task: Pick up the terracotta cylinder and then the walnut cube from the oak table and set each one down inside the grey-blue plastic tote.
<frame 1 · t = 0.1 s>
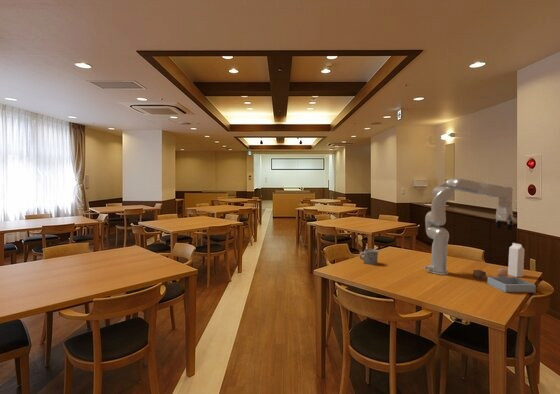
hand: (503, 228, 209), 31 cm above the table, fingers open, 9 cm apart
walnut cube: (479, 278, 198), on the table
terracotta cylinder: (502, 279, 196), on the table
tote: (510, 288, 180), on the table
milk: (515, 275, 205), on the table
coffee mug: (368, 262, 233), on the table
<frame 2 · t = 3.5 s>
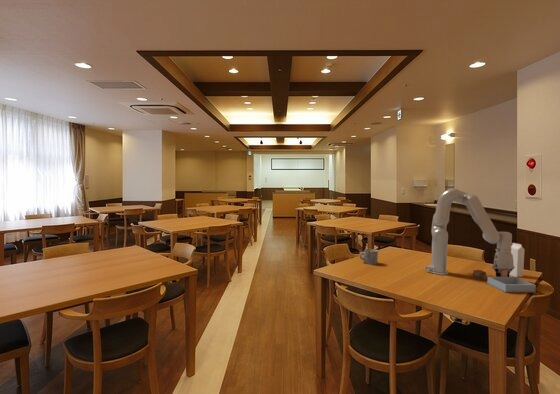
hand: (502, 278, 196), 1 cm above the table, fingers closed on terracotta cylinder, 5 cm apart
terracotta cylinder: (502, 279, 196), on the table, touching gripper
everything else where it was.
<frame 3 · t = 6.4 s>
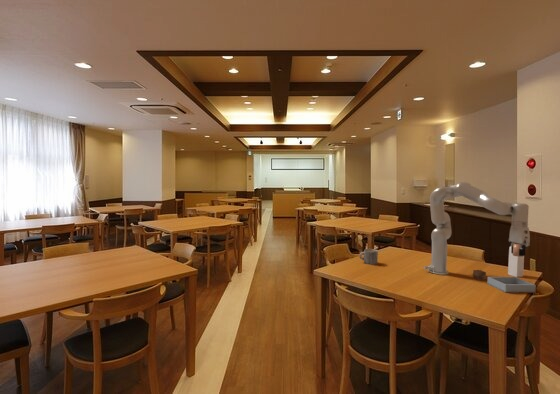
hand: (518, 254, 179), 21 cm above the table, fingers closed on terracotta cylinder, 5 cm apart
terracotta cylinder: (518, 255, 179), point 20 cm above the table, touching gripper
everything else where it was.
when the fingers open (4 cm above the table, at t = 9.7 s): terracotta cylinder drops 3 cm, resting on tote.
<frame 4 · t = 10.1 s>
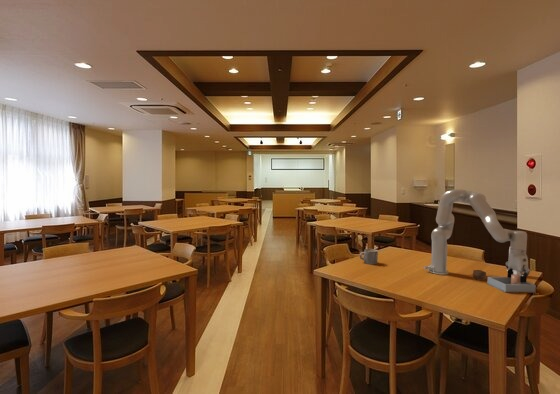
hand: (516, 279, 180), 5 cm above the table, fingers open, 9 cm apart
terracotta cylinder: (515, 287, 180), point 1 cm above the table, touching tote
everything else where it was.
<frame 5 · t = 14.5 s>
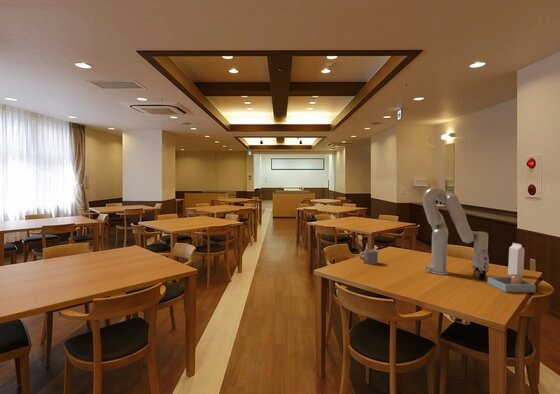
hand: (479, 277, 198), 0 cm above the table, fingers closed on walnut cube, 5 cm apart
walnut cube: (479, 278, 198), on the table, touching gripper
everything else where it was.
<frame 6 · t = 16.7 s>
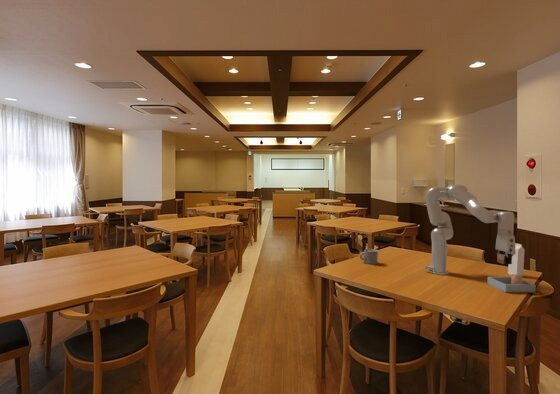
hand: (504, 262, 179), 16 cm above the table, fingers closed on walnut cube, 5 cm apart
walnut cube: (504, 263, 179), point 15 cm above the table, touching gripper
everything else where it was.
when the fingers open (4 cm above the table, at t = 19.2 s): walnut cube drops 3 cm, resting on tote.
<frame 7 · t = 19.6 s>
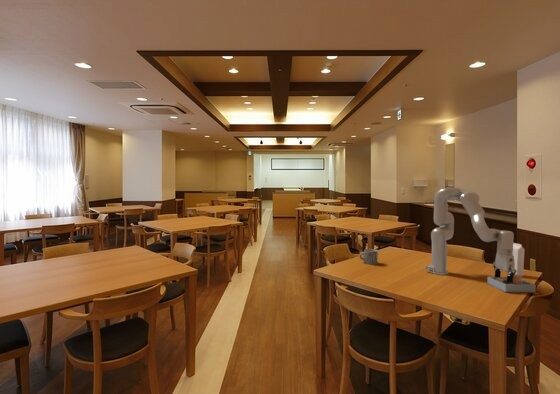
hand: (503, 279, 179), 5 cm above the table, fingers open, 9 cm apart
walnut cube: (503, 287, 180), point 1 cm above the table, touching tote
everything else where it was.
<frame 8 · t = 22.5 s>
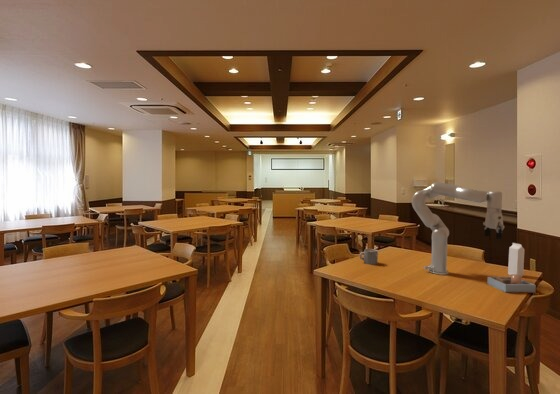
hand: (492, 237, 191), 28 cm above the table, fingers open, 9 cm apart
nothing on the table moved.
at the end: terracotta cylinder inside the target area on the tote (3.5 cm from its centre), point 0.7 cm above the tote's base; walnut cube inside the target area on the tote (4.5 cm from its centre), point 0.6 cm above the tote's base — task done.
